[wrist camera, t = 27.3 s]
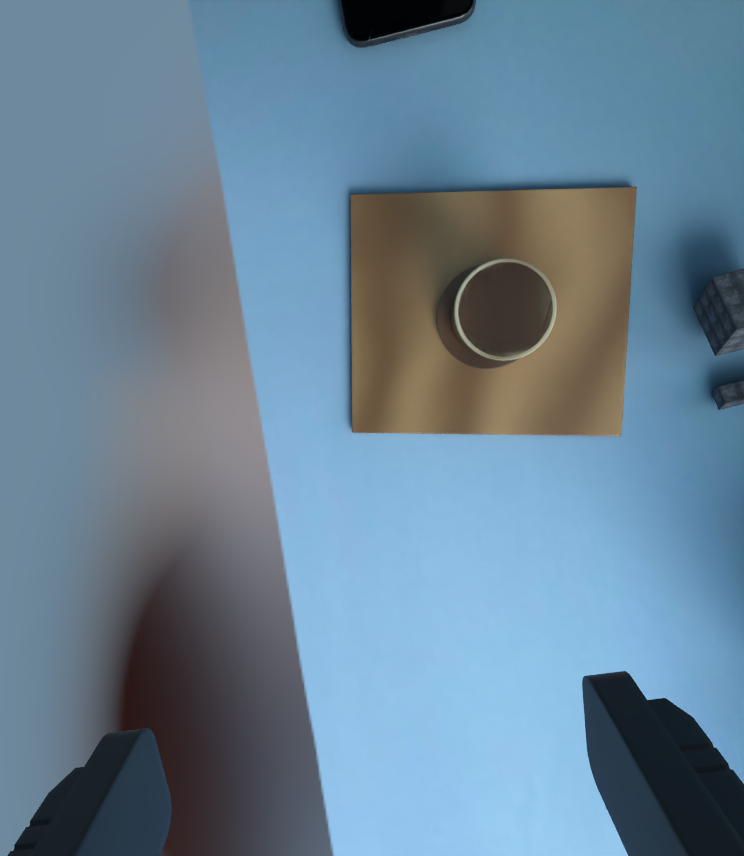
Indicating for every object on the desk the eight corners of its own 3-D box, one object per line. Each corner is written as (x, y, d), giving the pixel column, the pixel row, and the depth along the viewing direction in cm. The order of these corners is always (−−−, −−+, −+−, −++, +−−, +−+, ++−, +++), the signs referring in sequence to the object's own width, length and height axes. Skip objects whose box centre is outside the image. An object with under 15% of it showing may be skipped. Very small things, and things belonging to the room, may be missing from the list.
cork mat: (353, 431, 36) (351, 432, 36) (351, 196, 34) (350, 194, 34) (618, 434, 35) (621, 436, 34) (633, 188, 33) (637, 186, 32)
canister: (435, 368, 35) (437, 375, 27) (437, 265, 34) (439, 242, 26) (538, 369, 34) (569, 376, 26) (542, 263, 33) (576, 240, 26)
